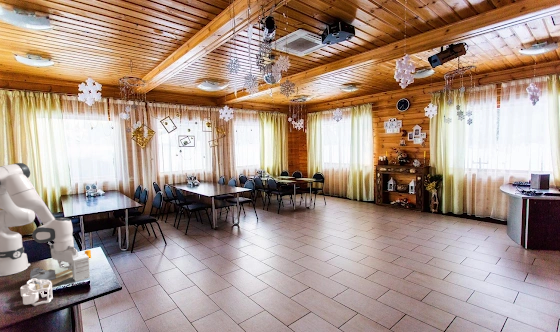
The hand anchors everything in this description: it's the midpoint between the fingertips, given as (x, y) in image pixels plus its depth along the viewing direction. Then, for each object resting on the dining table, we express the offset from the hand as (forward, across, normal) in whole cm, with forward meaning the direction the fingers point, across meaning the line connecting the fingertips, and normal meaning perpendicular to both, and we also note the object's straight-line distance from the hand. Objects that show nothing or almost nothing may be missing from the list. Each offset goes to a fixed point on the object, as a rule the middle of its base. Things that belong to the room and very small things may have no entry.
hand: (66, 268), depth 162 cm
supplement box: (+5, -10, -2) cm, 12 cm away
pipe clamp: (+6, +14, -16) cm, 22 cm away
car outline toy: (+5, -13, +20) cm, 25 cm away
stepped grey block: (+5, +8, +11) cm, 14 cm away
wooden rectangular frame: (+5, 0, +5) cm, 7 cm away
